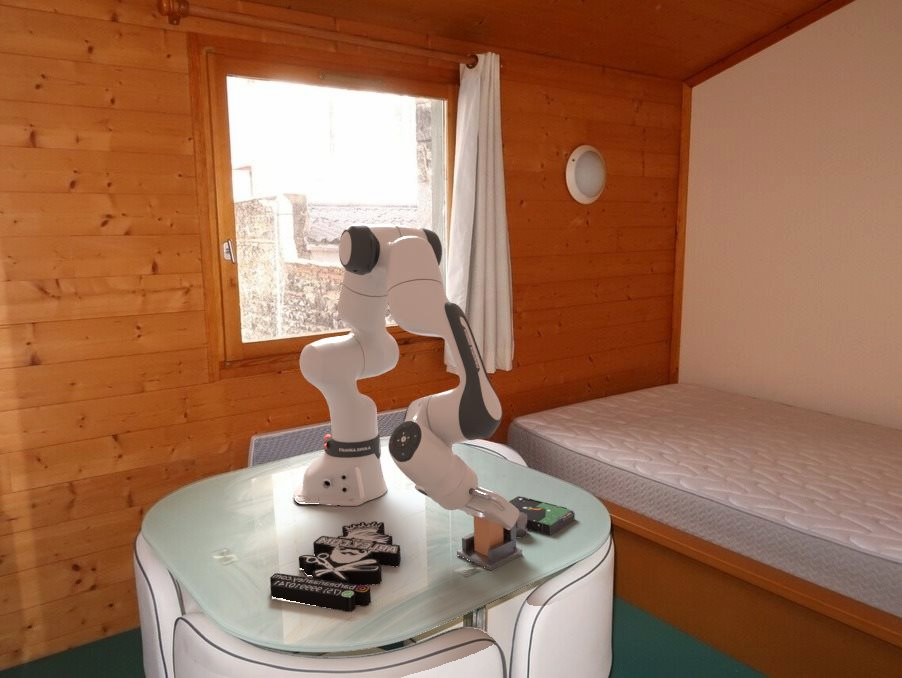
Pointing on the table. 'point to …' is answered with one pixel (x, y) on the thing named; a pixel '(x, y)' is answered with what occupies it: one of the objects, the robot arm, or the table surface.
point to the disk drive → (543, 515)
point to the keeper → (492, 550)
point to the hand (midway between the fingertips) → (490, 518)
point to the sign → (340, 568)
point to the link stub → (521, 525)
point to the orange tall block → (486, 534)
